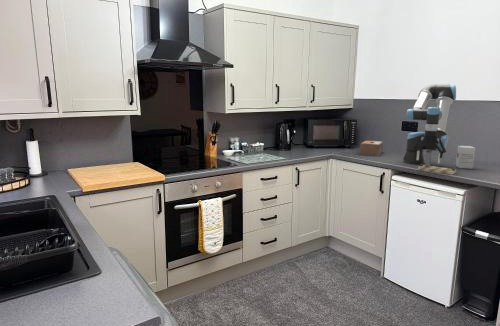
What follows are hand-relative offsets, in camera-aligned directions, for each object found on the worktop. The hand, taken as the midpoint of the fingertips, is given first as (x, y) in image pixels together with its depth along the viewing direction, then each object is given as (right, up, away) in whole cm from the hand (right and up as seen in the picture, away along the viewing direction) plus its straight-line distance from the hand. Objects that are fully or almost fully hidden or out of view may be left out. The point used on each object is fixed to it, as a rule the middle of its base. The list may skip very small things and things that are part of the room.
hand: (427, 161), depth 237 cm
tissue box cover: (-15, +7, +69) cm, 71 cm away
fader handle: (0, -3, +1) cm, 3 cm away
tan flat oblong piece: (+4, -6, -3) cm, 8 cm away
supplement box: (+32, -4, +12) cm, 34 cm away
